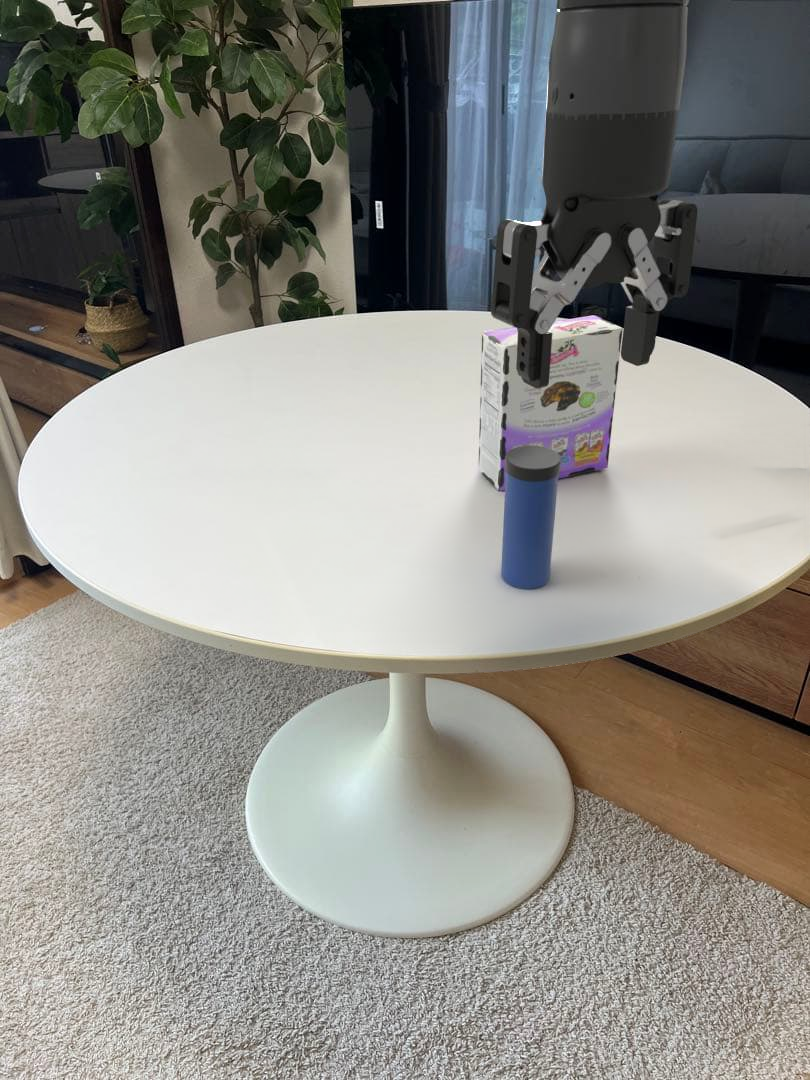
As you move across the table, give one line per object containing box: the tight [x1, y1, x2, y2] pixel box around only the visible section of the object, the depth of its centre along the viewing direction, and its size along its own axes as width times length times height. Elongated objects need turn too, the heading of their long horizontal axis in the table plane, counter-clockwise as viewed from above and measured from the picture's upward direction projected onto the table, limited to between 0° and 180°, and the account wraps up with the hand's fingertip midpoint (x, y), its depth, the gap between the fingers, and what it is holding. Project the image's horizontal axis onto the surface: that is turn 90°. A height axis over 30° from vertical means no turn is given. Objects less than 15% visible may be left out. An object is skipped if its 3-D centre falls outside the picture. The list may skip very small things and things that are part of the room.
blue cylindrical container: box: [500, 446, 561, 590], centre depth 69 cm, size 5×5×12 cm
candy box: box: [477, 314, 624, 492], centre depth 86 cm, size 14×6×16 cm, turn 110°
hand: (586, 373), depth 54 cm, fingers open, 8 cm apart
